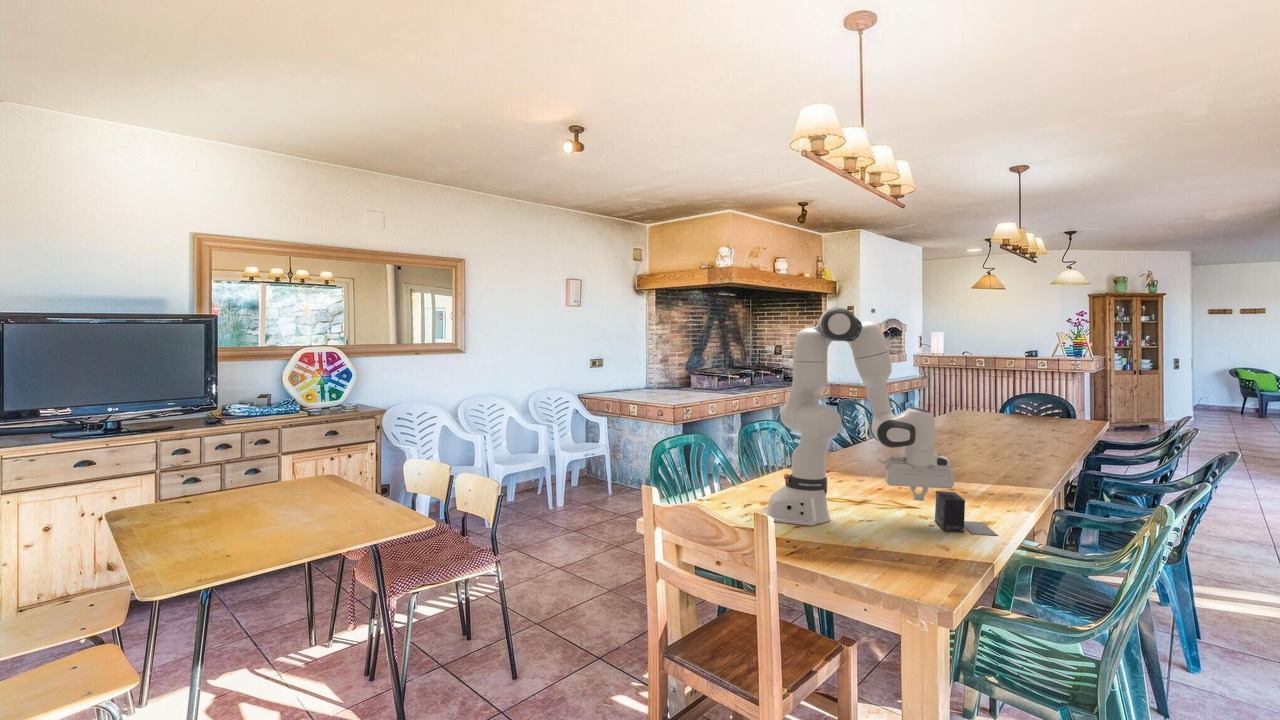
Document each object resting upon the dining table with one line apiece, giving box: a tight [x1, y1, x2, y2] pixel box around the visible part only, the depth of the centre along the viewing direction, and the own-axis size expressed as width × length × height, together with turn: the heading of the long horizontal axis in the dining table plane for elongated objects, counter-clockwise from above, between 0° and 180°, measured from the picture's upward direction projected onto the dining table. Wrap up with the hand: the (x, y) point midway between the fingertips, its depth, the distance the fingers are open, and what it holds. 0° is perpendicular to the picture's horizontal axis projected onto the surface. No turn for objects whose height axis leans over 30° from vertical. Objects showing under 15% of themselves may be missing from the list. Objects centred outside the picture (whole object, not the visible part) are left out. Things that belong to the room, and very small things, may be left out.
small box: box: [934, 490, 966, 533], centre depth 196 cm, size 11×6×10 cm, turn 168°
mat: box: [964, 520, 999, 537], centre depth 194 cm, size 8×13×1 cm, turn 169°
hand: (918, 500), depth 197 cm, fingers closed
